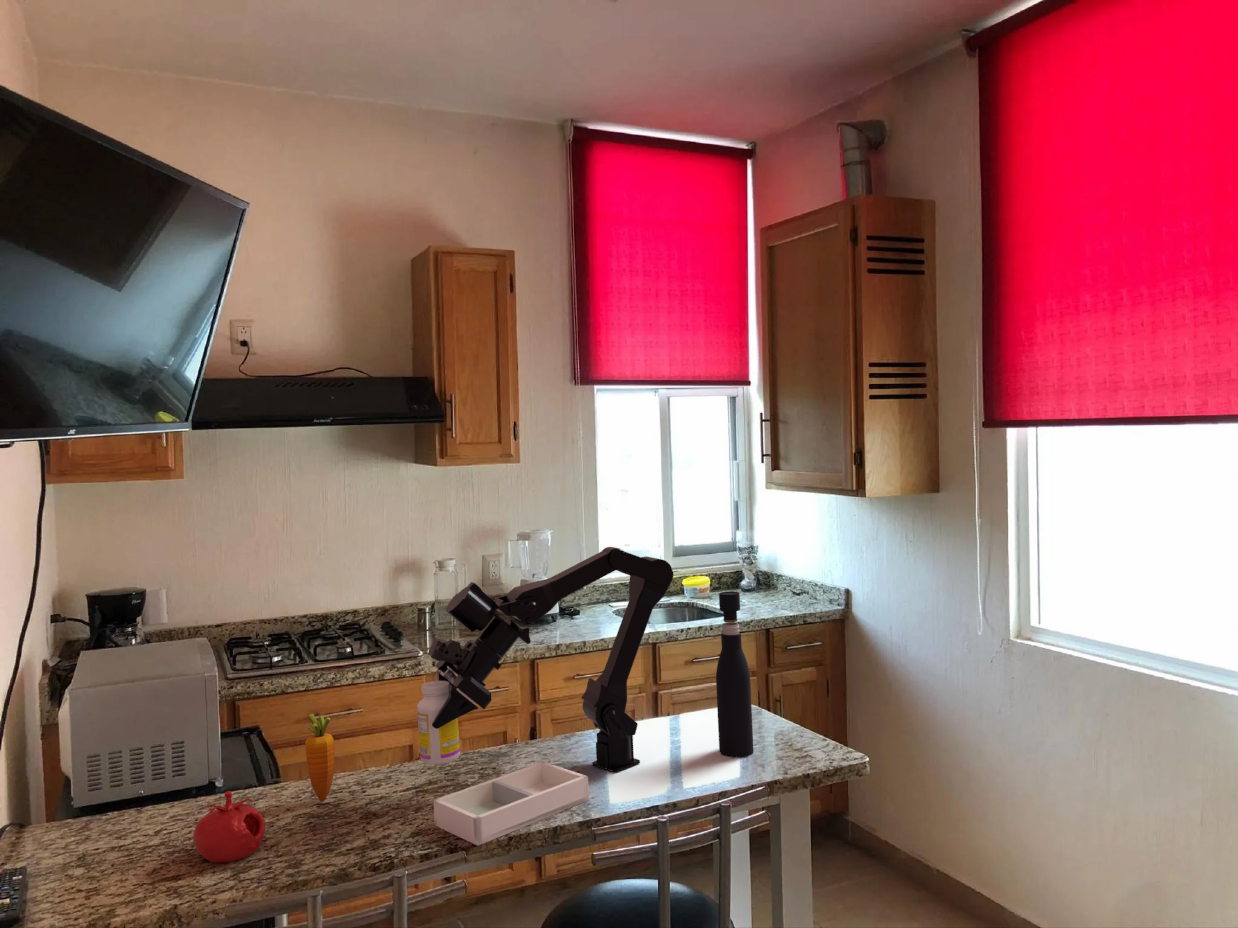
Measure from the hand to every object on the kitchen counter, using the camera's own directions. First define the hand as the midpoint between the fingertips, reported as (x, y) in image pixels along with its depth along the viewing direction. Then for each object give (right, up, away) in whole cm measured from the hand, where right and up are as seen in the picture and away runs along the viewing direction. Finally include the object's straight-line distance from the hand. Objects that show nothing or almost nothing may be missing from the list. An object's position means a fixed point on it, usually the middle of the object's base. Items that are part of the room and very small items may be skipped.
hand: (429, 721), depth 154 cm
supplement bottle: (+2, -7, +1) cm, 7 cm away
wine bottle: (+54, -11, +17) cm, 58 cm away
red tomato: (-26, -15, -18) cm, 35 cm away
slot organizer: (+15, -13, -7) cm, 21 cm away
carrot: (-19, -14, +2) cm, 24 cm away
